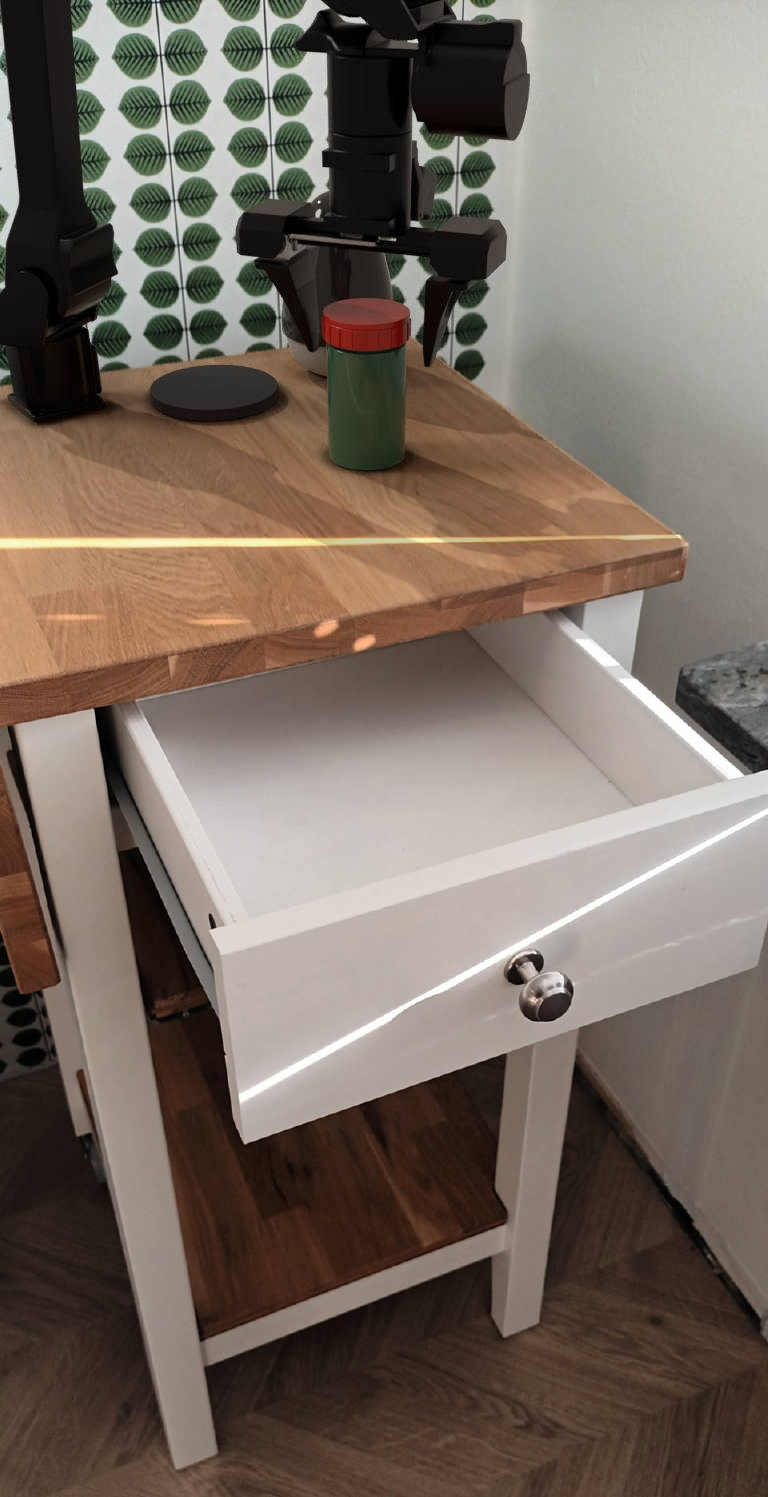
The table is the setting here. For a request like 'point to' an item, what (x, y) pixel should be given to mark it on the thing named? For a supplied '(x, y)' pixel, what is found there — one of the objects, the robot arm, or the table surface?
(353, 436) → the jar
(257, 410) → the coaster
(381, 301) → the lid
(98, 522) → the table surface
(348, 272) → the pump dispenser
